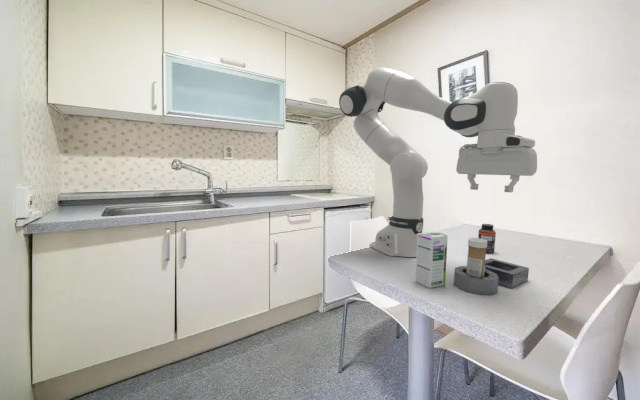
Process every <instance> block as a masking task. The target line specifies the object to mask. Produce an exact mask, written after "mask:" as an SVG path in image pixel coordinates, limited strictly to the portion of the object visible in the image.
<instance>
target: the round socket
mask: <svg viewBox="0 0 640 400" xmlns="http://www.w3.org/2000/svg"><path fill="white" fill-rule="evenodd" d="M466 271H467V265H464V266H463V265H461V266H460V265H459V266H456V267H454V272H453V273H454V274H453V285H454V286H455V287H457V289H459V290H461V291H464V292H467V293H470V294H476V295H481V296H482V295H483V296H485V295H488V296H491V295H495V294H497V293H498V290H499V288H498V287H499V284H498V279H499V278H498V275H497V274H495V273H494V272H492V271H489V270H486V269H485V274H484V277H477V276H472V275H468V274H466Z"/></svg>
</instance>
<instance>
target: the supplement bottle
mask: <svg viewBox="0 0 640 400" xmlns="http://www.w3.org/2000/svg"><path fill="white" fill-rule="evenodd" d="M496 234H497V233H496V231H495V230H494V224H492V223H491V224H490V223H482V224H481V227H480V229H479V230H478V235H477V238H480V239H484V240H486V241H487V248H486V254H493V253H494V252H495V246H496Z"/></svg>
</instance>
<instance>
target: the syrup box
mask: <svg viewBox="0 0 640 400" xmlns="http://www.w3.org/2000/svg"><path fill="white" fill-rule="evenodd" d="M448 239H449V238H448V235H447V234H445V233H442V232H439V231H438V232H437V231H429V232H422V233H418V235H417V257H416V261H415V263H416V265H415V281H416V282H417V283H418V284H420V285H423V286H424V287H427V288H428V289H432V288H436V287H437V288H438V287H442V286H446V276H447V275H446V273H447V258H448V257H447V256H448V255H447V253H448V252H447V251H448Z"/></svg>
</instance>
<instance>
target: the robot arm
mask: <svg viewBox="0 0 640 400" xmlns="http://www.w3.org/2000/svg"><path fill="white" fill-rule="evenodd" d="M518 96H519V95H518V89H517V88H516V87H515V85H514V84H511V83H510V82H506V81H505V82H504V81H493V82H490V83H489V82H488V83H486V84H485V85H484V86H483V87H482V88H480V89H479V90H477V91H476V92H474V93H471V94H470V95H467V96H464V97H462V98H458V99H456V100H454V101H450V100H448V99H445V98H443V97H440V96H439V95H438V94H435V93H433V92H432V91H431V90H430V89H429V88H428V87H426V86H425V85H424V84H423V83H422V82H420V81H419V80H418V79H417V78H415V77H414V76H412V75H411V74H408V73H406V72H404V71H401V70H398V69H395V68H390V67H384V66H377V67H375V68H373V69H372V70H371V71H370V72H369V73H368V75H367V79H366V82H362V83H359V84H357V85H354V86H352V87H351V86H350V87H348V88H347V89H345V90H344V91H343V92H341V94H340V95H339V99H338V104H339V109H340V111H341V113H342V114H343V115H345V116H346V117H348V118H349V117H350V118H351V117H353V118H354V117H355V118H354V121H353V129H354V130H355V132H356V133H357V135H358V137H359V138H360V139H361V140H362V141H363V142H364V143H365V145H367V147H368V148H370V150H371V151H372V152H374V154H375V155H376V156H377V157H378V158H379V159H381V160H383V162H385V163H386V164H387V165H389V171H390V173H391V183H392V185H391V186H392V190H393V191H392V194H393V208H392V216H391V217H390V216H387V218H386V219H387V221H389V222H388V224H387V225H386V226H385V227H383V228H382V229H381V230H379V231H377V233H376V235H375V239H374V240H375V241H372V242H370V243H369V245H368V246H369V247H370V248H372V249H374V250H377V251H379V252H380V253H383V254H385V255H386V256H391V257H405V258H417V235H418V233H423V229H424V217H423V215H424V214H423V211H424V193H423V178H424V177H425V176H426V175H427V172H428V169H429V167H428V162H427V160H426V159H425V158H424V156H423V155H421V154H420V153H419V152H418V151H417V150H415V148H413V147H412V145H410V144H409V143H408V142H406V140H404V139H403V138H402V137H400V135H399V134H398V133H396V131H394V130H393V129H392V128H391V127H390V126H389V125H388V124H387V123H386V122H385V121H384V120H383V119H382V118H381V117H380V116H379V113H381V112H382V111H383V110H384V106H385V103H386V104H388V105H391V106H393V107H397V108H399V109H400V108H401V109H405V110H410V111H415V112H420V113H424V114H428V115H431V116H432V117H434V118H436V119H438V120H441V121H444V123H445V125H446V127H447V128H449V130H452V131H453V132H456V133H458V134H460V135H461V136H462V137H465V138H475V137H477V140H476V141H477V143H469V144H468V143H467V144H464V145H462V146H461V147H459V150H458V159H457V162H456V173H457V174H458V175H466V176H467V177H466V178H467V179H468V180H467V181H468V182H469V184H470V186H469V187H470V190H471V191H472V190H476V191H477V190H478V189H479V185H480V184H479V183H476V181H475V179H476V178H477V176H476V175H486V176H487V175H488V176H489V175H490V176H509V180H511V181H510V183H508V185H504V189H503V190H504V193H513V192H514V186H515V185H516V184H517V183H518V182H519V181H520V177H521V176H522V177H523V176H525V177H531V176H533V175H535V174H536V173H537V169H538V154H537V151H536V150H535V149H534V147H535V146H536V141H535V139H532V138H528V137H524V136H522V135H516V126H515V120H516V118H517V114H518V106H519V105H518V104H519V103H518V99H519V98H518Z"/></svg>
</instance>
